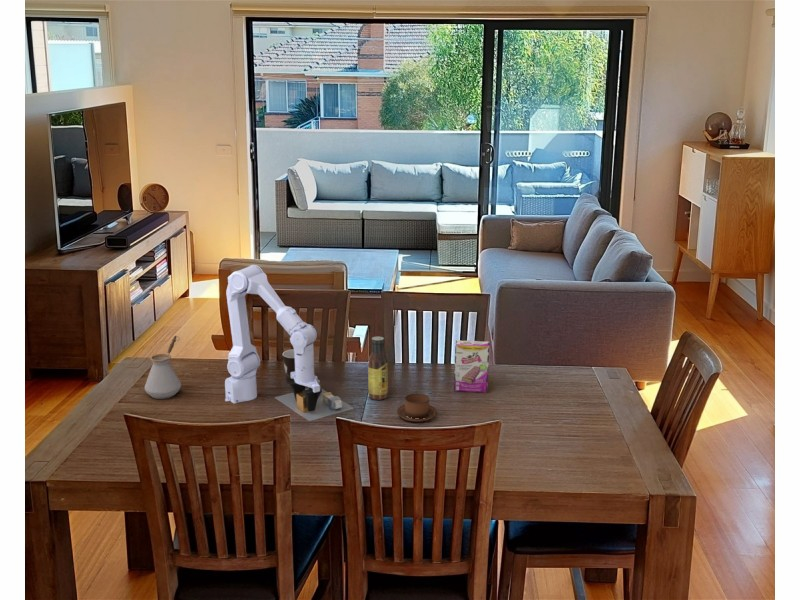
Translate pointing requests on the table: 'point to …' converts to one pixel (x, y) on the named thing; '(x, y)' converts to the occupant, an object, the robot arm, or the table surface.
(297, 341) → the robot arm
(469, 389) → the candy bar box
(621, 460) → the table surface
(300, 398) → the brown square block
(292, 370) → the coffee mug
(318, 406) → the base board
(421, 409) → the cup and saucer
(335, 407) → the shaft rig
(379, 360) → the sauce bottle
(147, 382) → the coffee pot
